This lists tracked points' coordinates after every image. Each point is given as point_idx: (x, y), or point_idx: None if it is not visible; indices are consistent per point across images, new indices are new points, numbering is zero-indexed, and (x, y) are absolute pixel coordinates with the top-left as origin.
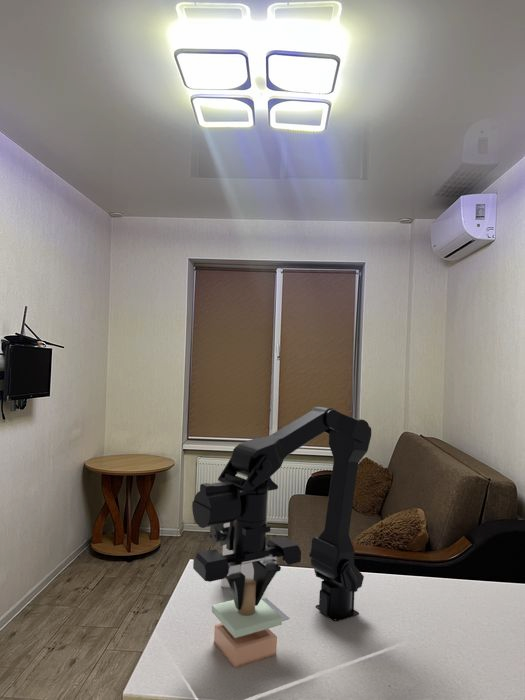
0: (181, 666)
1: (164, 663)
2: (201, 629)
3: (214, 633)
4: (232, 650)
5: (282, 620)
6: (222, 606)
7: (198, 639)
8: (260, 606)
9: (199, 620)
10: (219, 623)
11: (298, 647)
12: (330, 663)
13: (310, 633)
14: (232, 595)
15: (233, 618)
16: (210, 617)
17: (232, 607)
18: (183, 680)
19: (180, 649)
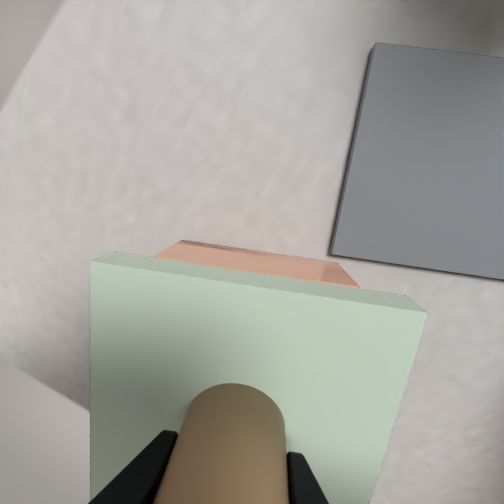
0: (49, 275)
1: (8, 234)
2: (190, 127)
3: (169, 247)
4: None
5: (485, 275)
6: (139, 312)
7: (151, 181)
8: (338, 434)
9: (215, 57)
10: (177, 258)
11: (401, 400)
12: (413, 491)
13: (500, 372)
14: (94, 499)
15: (132, 440)
16: (268, 62)
17: (187, 355)
18: (35, 328)
19: (74, 198)
